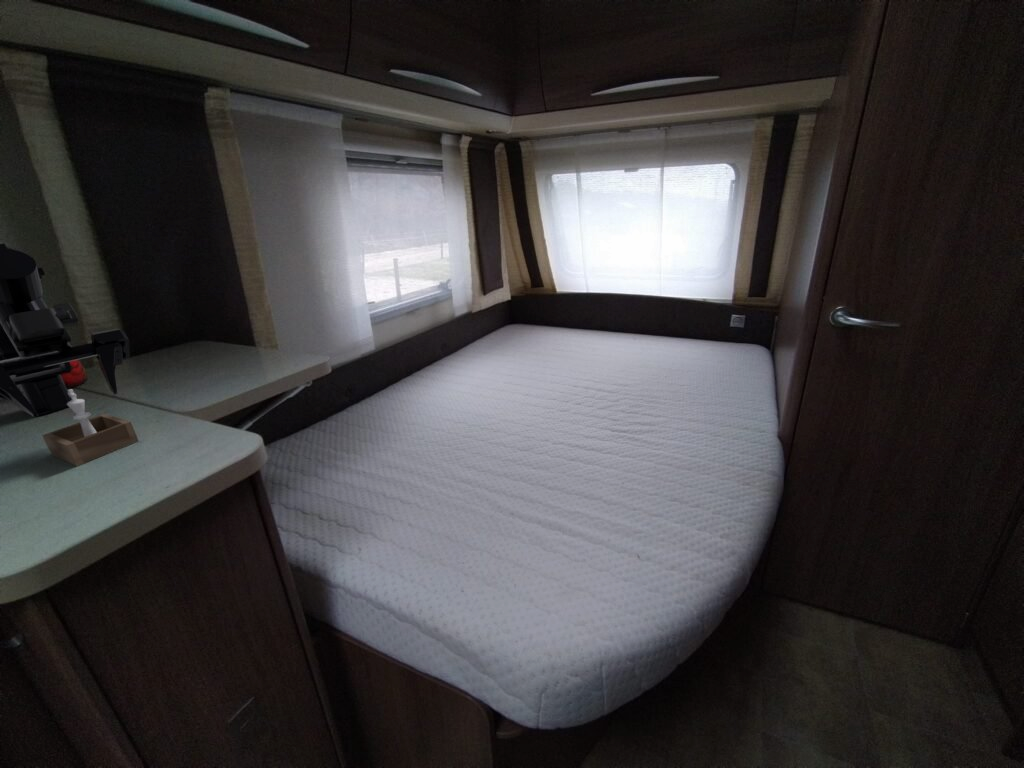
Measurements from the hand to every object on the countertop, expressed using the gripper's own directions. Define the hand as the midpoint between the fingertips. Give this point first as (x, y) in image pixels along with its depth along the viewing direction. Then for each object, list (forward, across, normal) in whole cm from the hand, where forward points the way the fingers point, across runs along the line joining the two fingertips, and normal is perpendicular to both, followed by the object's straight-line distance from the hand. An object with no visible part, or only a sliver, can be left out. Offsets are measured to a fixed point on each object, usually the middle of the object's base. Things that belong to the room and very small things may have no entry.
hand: (77, 403), depth 67 cm
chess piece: (+5, 0, +7) cm, 8 cm away
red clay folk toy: (-25, +5, +36) cm, 44 cm away
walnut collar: (+5, 0, +7) cm, 8 cm away
